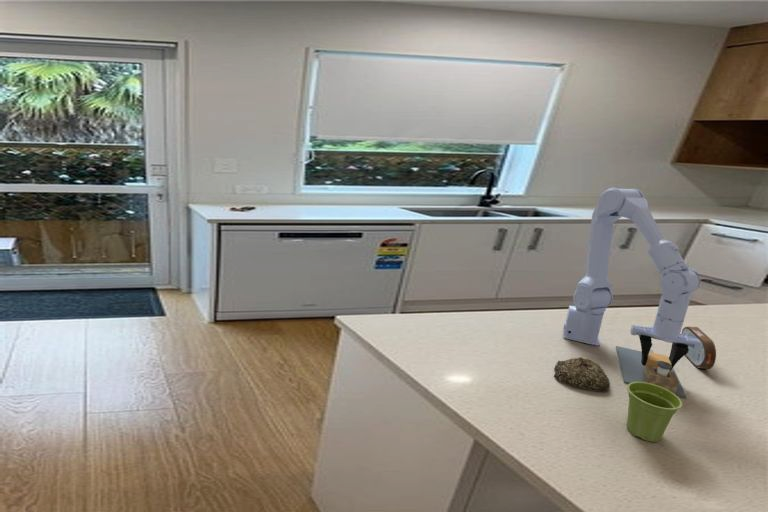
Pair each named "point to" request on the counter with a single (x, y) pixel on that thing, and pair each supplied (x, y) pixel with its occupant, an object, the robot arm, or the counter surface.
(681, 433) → the counter surface
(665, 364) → the grey domed push button
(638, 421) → the plant pot
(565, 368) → the brown rock
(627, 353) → the base mat
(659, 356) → the tan block with tabs
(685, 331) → the tin
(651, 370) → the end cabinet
